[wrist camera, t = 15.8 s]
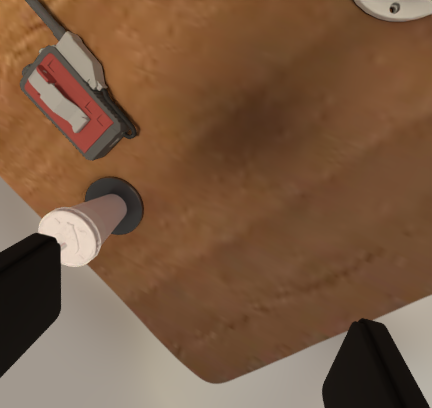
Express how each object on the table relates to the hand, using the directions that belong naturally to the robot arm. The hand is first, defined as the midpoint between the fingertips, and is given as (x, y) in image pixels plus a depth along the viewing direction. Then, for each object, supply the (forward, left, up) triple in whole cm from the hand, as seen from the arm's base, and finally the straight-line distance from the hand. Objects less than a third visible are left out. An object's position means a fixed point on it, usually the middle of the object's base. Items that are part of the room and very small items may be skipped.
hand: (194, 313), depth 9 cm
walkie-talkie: (-5, -22, -26) cm, 35 cm away
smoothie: (+10, -15, -26) cm, 32 cm away
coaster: (+10, -15, -26) cm, 32 cm away
